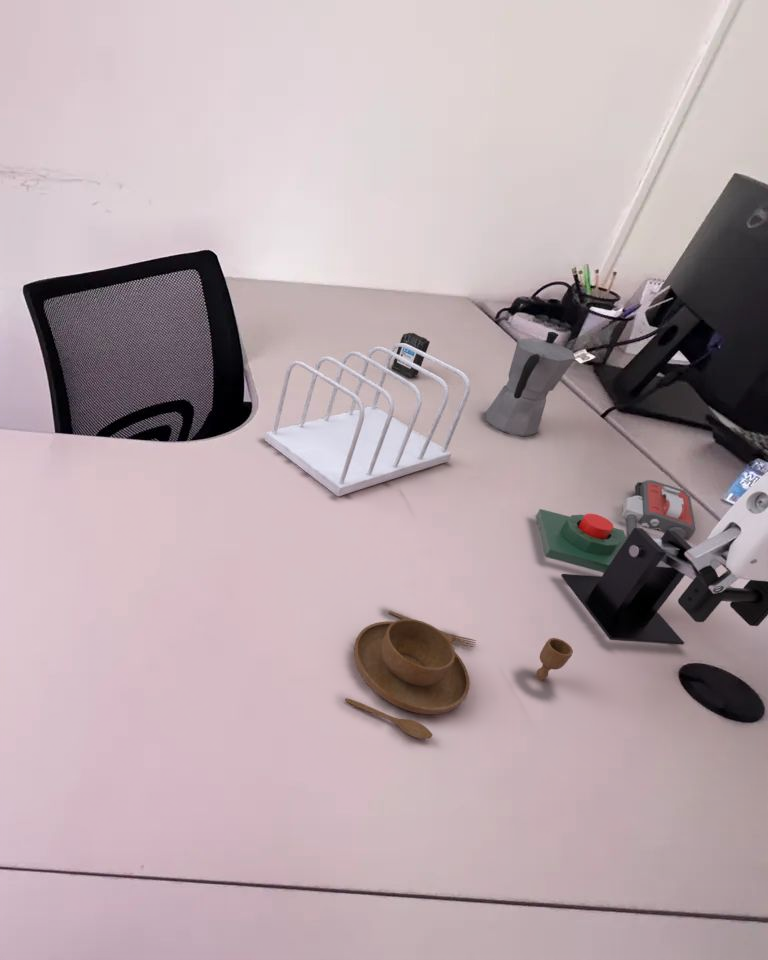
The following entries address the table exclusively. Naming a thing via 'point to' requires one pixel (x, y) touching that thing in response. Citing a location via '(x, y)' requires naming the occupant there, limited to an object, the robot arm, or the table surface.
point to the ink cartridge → (410, 354)
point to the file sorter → (363, 430)
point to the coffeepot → (529, 385)
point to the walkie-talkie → (660, 509)
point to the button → (596, 526)
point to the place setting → (424, 668)
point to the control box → (576, 541)
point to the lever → (686, 568)
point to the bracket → (633, 590)
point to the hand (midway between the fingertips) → (717, 613)
